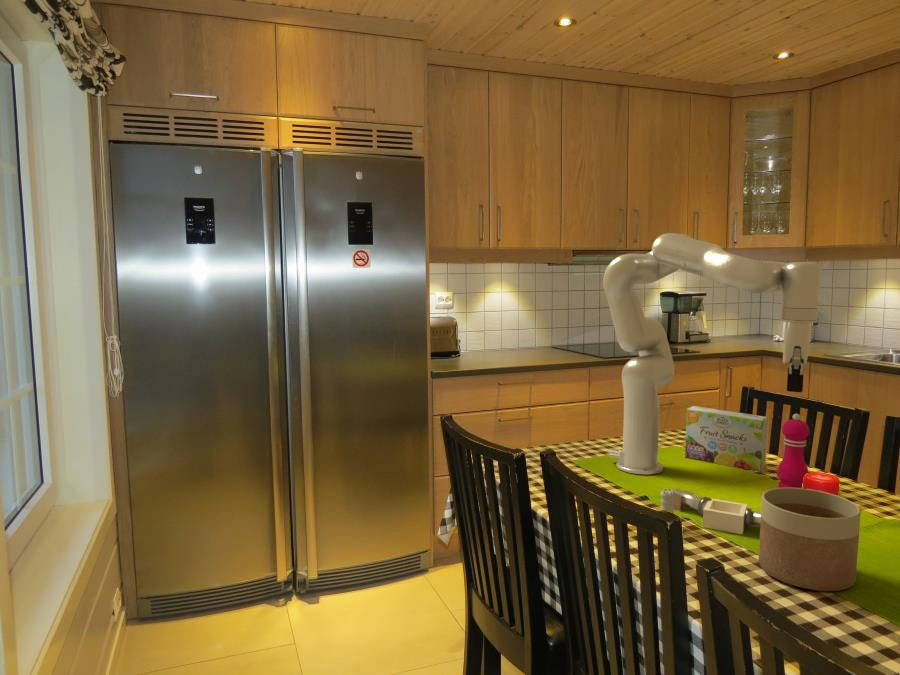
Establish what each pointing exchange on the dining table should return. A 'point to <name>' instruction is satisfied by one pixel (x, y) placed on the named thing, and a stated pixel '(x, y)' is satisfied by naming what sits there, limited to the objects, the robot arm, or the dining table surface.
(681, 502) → the shaft
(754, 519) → the shaft
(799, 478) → the pepper mill
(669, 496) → the rook chess piece
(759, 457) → the snack box
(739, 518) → the cream open box
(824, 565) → the planter
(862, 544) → the dining table surface
